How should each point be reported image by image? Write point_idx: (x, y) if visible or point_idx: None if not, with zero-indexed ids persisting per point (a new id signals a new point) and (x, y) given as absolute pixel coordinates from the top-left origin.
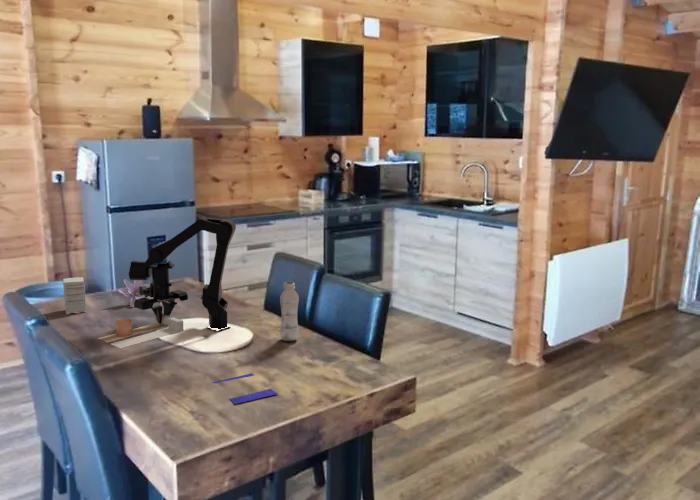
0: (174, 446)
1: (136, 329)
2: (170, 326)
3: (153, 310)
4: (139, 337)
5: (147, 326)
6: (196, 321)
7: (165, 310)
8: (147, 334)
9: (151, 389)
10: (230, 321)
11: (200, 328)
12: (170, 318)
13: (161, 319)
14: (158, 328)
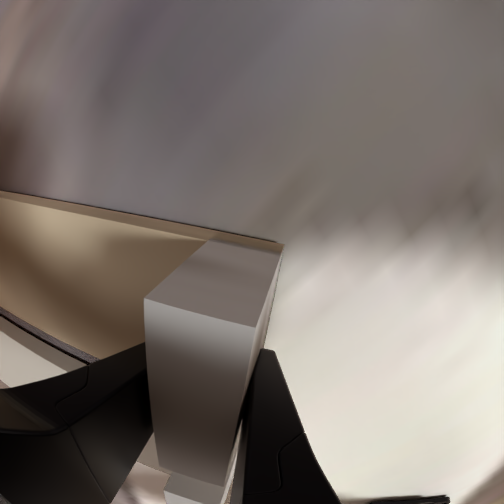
0: None
1: (19, 231)
2: None
3: (24, 404)
4: (9, 352)
5: (93, 249)
6: (488, 409)
7: (235, 487)
8: (42, 366)
9: None
10: (491, 487)
11: (358, 490)
12: (177, 501)
13: None
14: None
